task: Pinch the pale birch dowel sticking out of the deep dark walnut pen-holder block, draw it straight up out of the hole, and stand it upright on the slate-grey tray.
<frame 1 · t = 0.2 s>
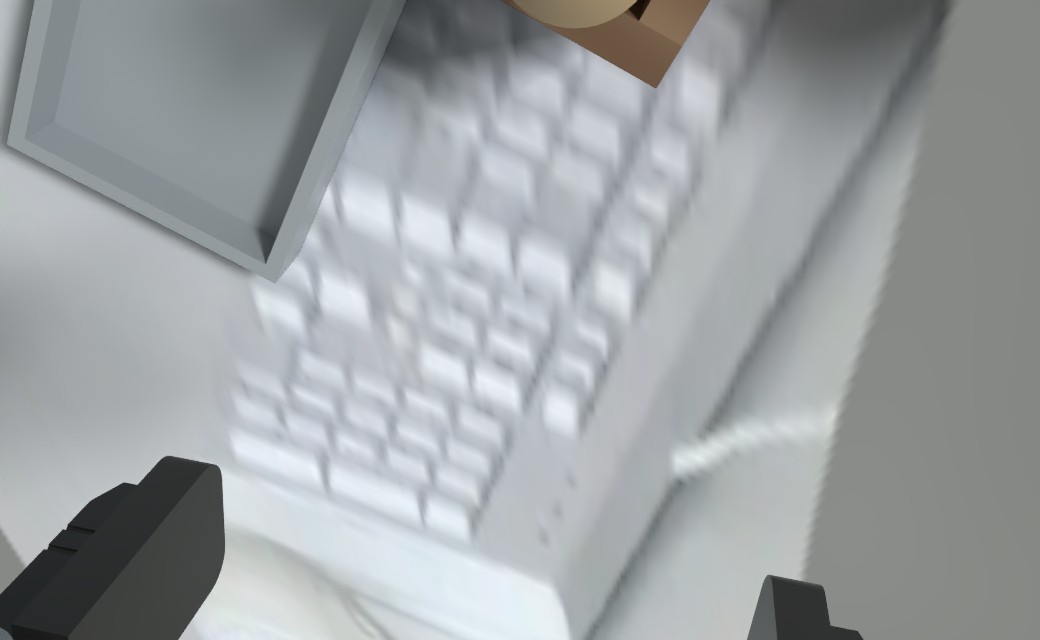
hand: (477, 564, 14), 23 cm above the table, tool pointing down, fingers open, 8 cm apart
grey tray: (225, 29, 34), on the table
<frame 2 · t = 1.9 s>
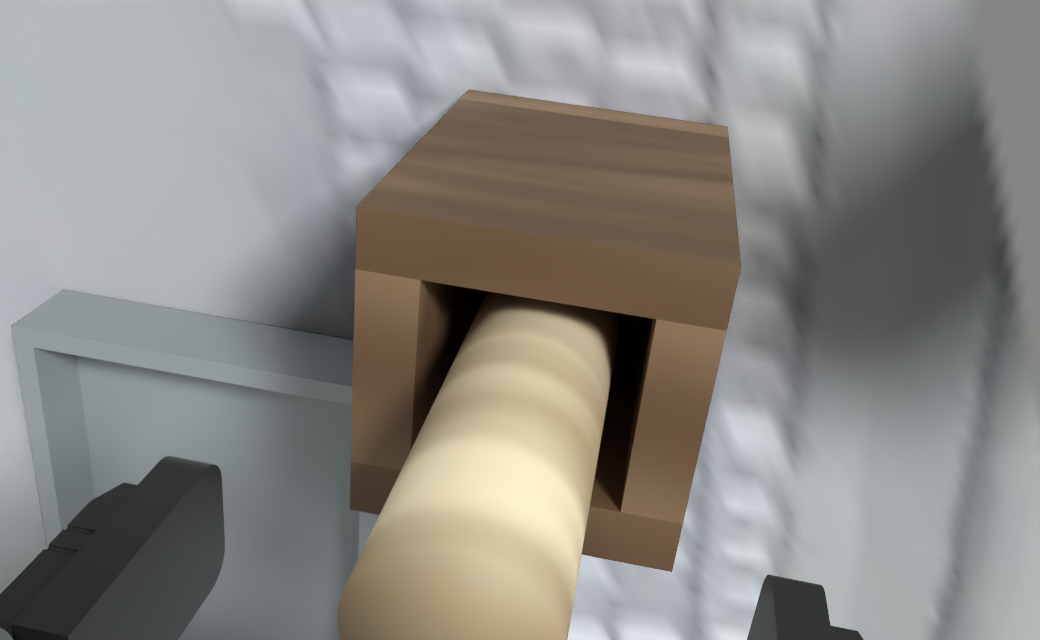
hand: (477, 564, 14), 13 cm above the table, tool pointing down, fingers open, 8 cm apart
grey tray: (240, 508, 32), on the table
walnut holder: (579, 229, 26), on the table
birch dowel: (575, 242, 25), point 1 cm above the table, touching walnut holder
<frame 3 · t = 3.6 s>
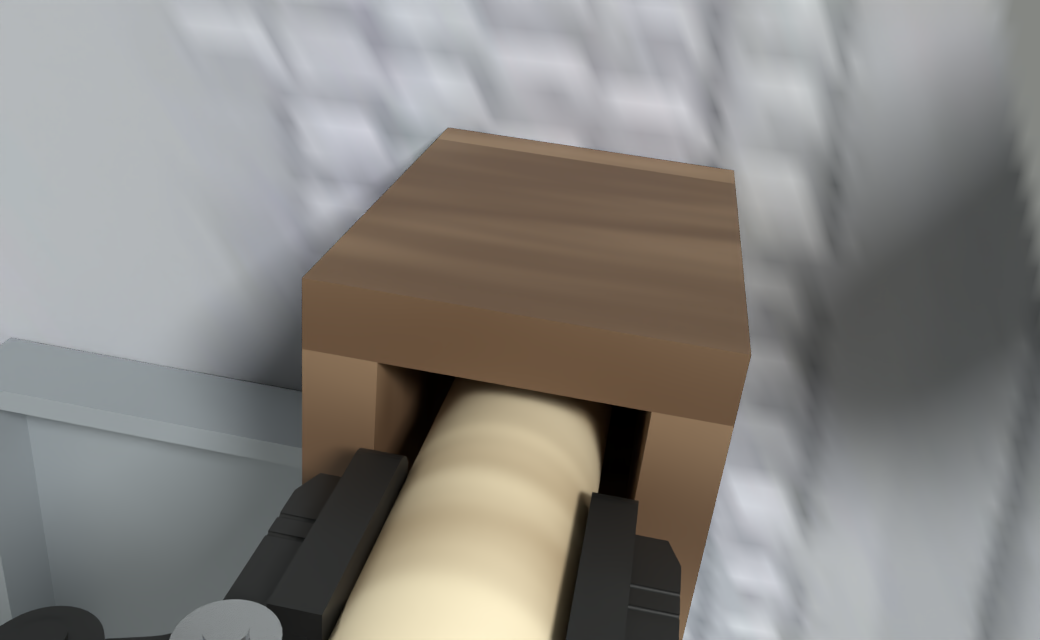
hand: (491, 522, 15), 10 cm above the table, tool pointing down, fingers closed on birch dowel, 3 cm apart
grey tray: (205, 571, 30), on the table
walnut holder: (570, 280, 23), on the table
birch dowel: (565, 296, 22), point 1 cm above the table, touching gripper
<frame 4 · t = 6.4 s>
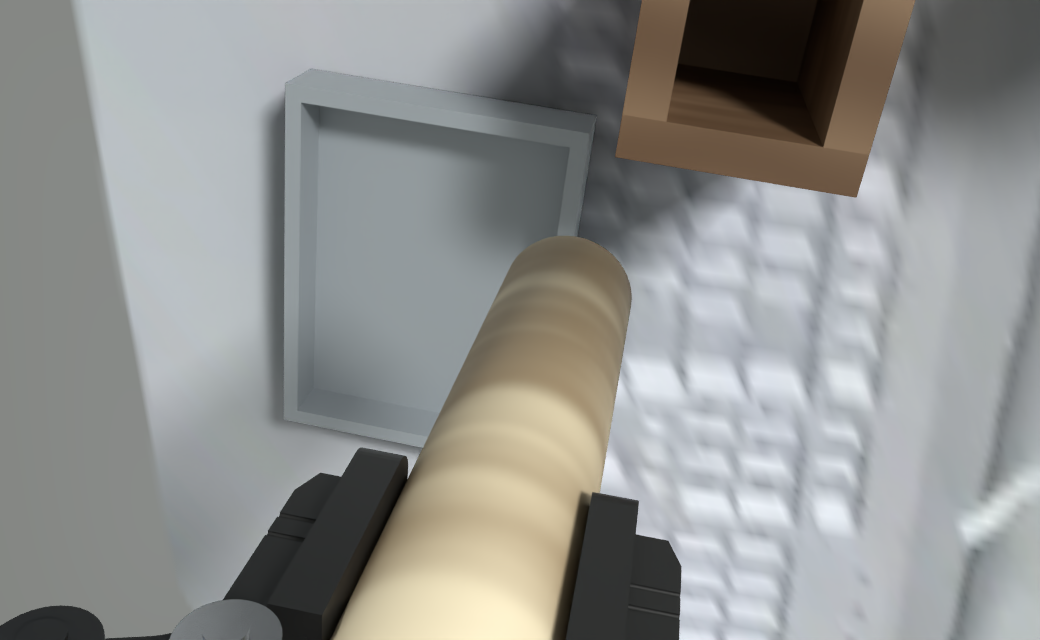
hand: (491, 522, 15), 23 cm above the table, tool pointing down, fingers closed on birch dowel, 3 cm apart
grey tray: (436, 266, 39), on the table
walnut holder: (747, 4, 32), on the table
birch dowel: (567, 295, 22), point 15 cm above the table, touching gripper
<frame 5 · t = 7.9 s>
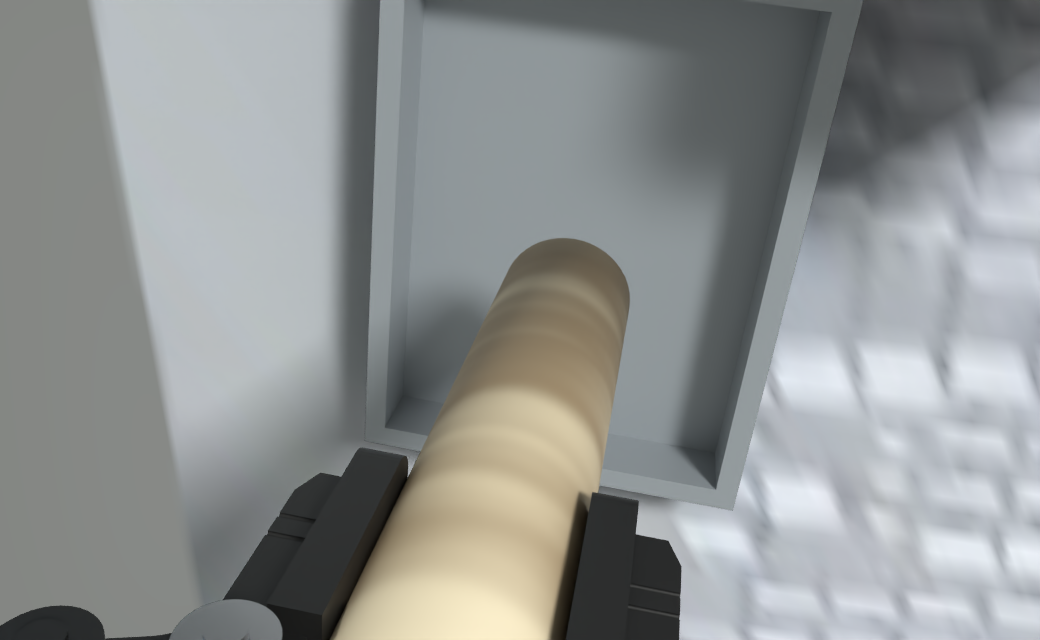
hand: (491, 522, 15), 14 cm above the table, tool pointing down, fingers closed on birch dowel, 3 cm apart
grey tray: (587, 217, 27), on the table
birch dowel: (565, 298, 22), point 5 cm above the table, touching gripper
when the fingers open (10 cm above the table, at t = 9.3 s): birch dowel drops 1 cm, resting on grey tray.
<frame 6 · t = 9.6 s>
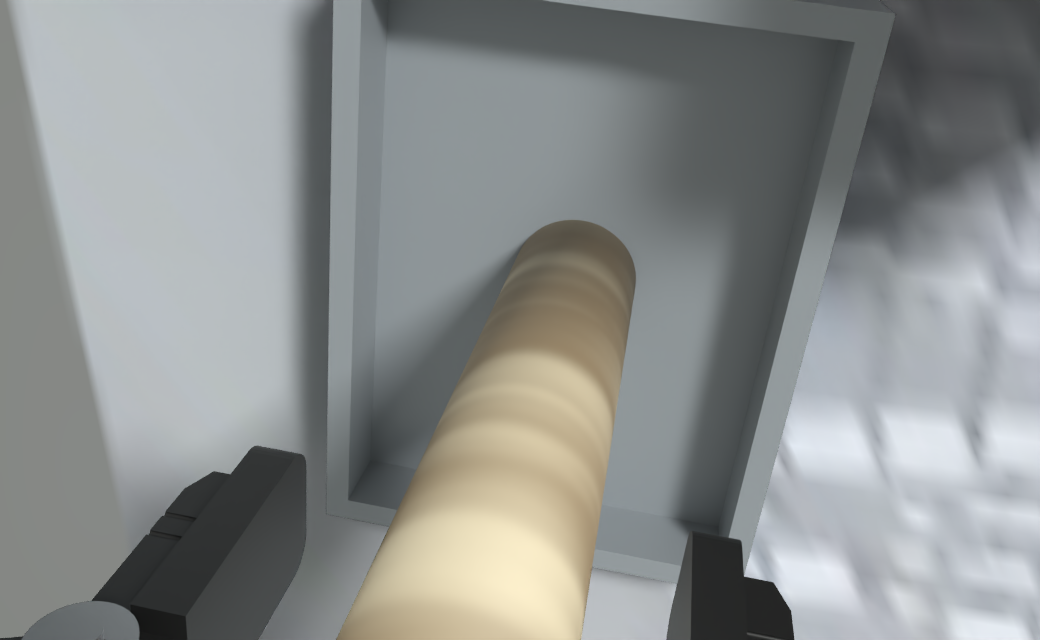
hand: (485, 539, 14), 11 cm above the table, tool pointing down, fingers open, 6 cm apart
grey tray: (574, 266, 24), on the table
birch dowel: (574, 277, 23), point 1 cm above the table, touching grey tray
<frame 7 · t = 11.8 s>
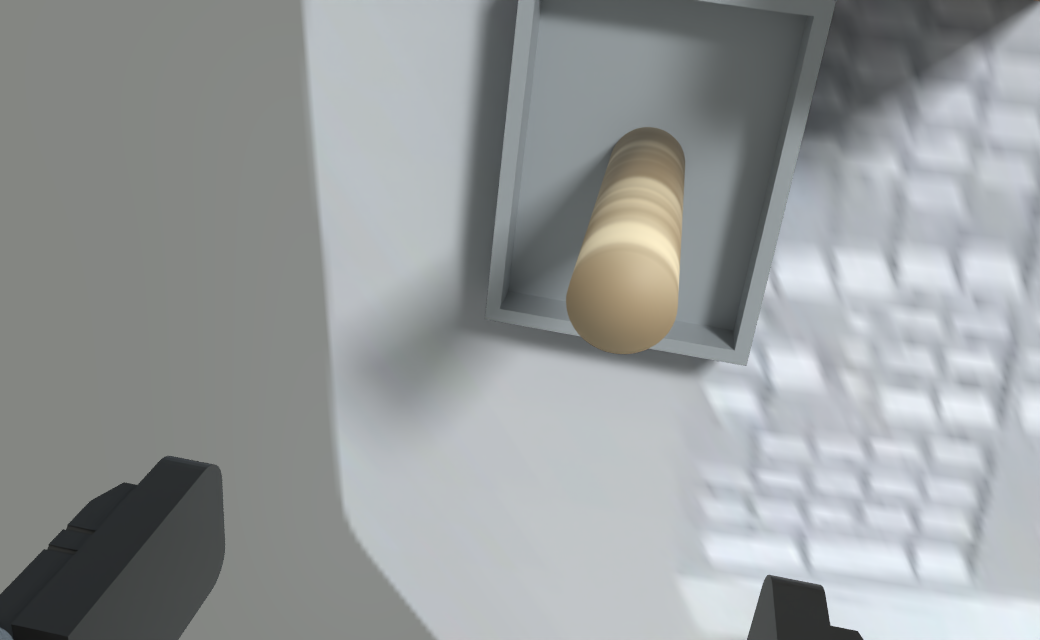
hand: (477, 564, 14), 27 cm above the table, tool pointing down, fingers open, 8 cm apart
grey tray: (645, 159, 39), on the table
birch dowel: (647, 164, 38), point 1 cm above the table, touching grey tray
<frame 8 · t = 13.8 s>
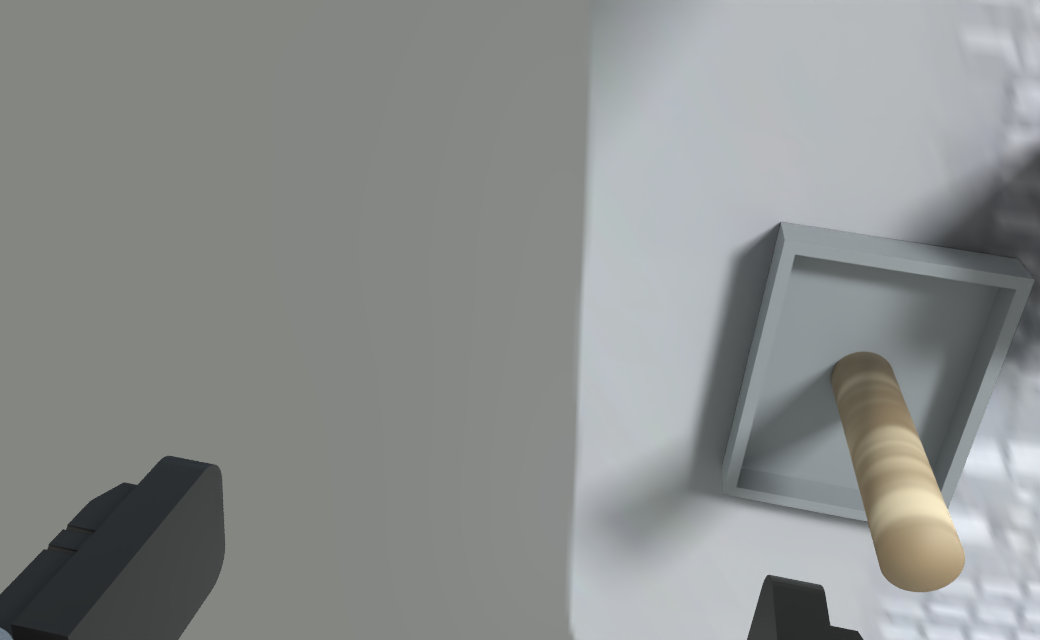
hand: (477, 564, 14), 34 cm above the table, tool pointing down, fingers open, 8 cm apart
grey tray: (858, 371, 48), on the table
birch dowel: (861, 378, 48), point 1 cm above the table, touching grey tray
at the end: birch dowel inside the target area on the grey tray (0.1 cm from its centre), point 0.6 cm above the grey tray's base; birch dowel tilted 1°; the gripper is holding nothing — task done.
